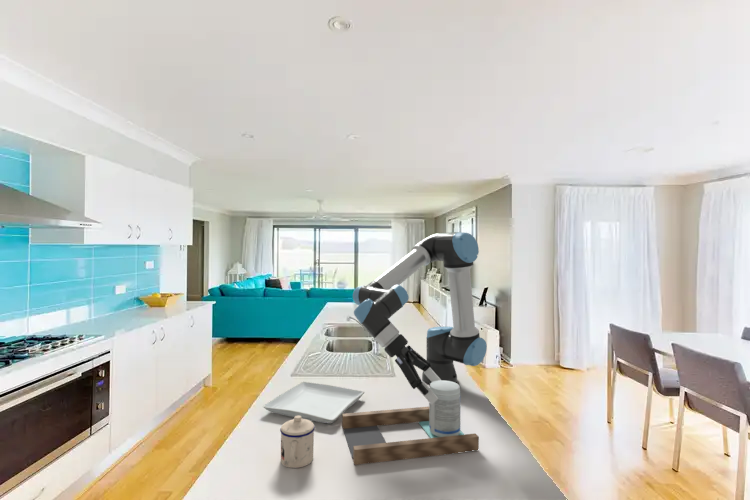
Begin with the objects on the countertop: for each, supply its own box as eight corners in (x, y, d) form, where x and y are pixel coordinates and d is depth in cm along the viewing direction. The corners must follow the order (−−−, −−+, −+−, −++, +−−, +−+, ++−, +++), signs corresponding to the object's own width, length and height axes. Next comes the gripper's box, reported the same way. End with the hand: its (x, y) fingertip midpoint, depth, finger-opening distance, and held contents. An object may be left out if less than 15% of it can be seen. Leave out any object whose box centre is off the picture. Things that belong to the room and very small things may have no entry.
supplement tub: (466, 434, 118) (467, 387, 118) (444, 442, 113) (444, 393, 113) (444, 422, 126) (445, 377, 126) (422, 429, 121) (423, 383, 121)
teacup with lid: (283, 450, 108) (284, 409, 108) (316, 450, 108) (316, 409, 108) (273, 476, 96) (274, 429, 96) (310, 476, 96) (310, 429, 96)
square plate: (333, 431, 121) (333, 419, 121) (260, 416, 130) (261, 405, 130) (365, 399, 146) (365, 389, 146) (302, 389, 156) (302, 379, 156)
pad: (449, 420, 129) (449, 418, 129) (473, 445, 112) (473, 444, 112) (418, 423, 127) (418, 421, 127) (438, 449, 110) (438, 448, 110)
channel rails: (446, 416, 132) (446, 405, 132) (478, 450, 110) (478, 436, 110) (342, 426, 124) (342, 413, 123) (354, 464, 102) (354, 449, 102)
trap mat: (377, 426, 123) (377, 425, 123) (391, 455, 107) (391, 453, 107) (343, 430, 121) (343, 428, 121) (352, 459, 104) (352, 457, 104)
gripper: (392, 339, 136) (434, 386, 132) (372, 359, 112) (422, 417, 108) (407, 325, 135) (450, 372, 131) (390, 342, 111) (442, 401, 107)
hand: (437, 393), depth 120 cm, fingers open, 13 cm apart
